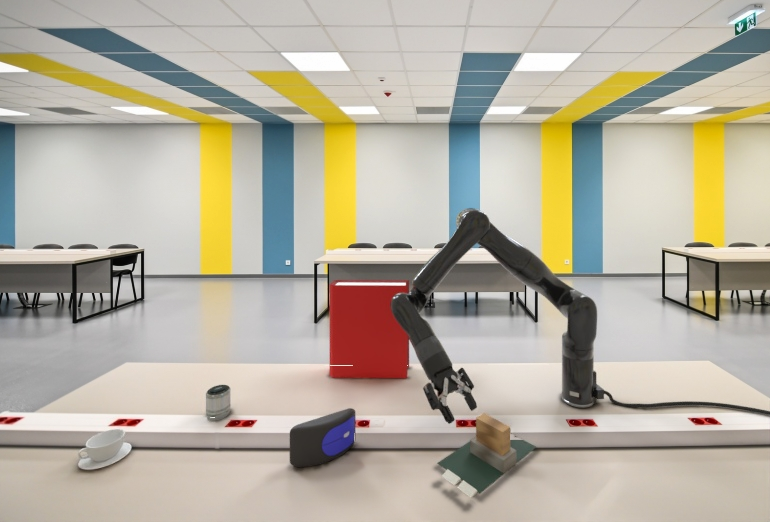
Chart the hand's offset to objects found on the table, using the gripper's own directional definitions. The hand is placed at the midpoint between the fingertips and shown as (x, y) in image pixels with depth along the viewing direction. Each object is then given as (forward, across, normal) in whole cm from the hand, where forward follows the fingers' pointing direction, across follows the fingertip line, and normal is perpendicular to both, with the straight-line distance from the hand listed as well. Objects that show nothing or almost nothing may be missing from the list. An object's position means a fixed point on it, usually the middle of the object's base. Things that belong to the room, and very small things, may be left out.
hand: (463, 415), depth 102 cm
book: (-30, +6, +41) cm, 51 cm away
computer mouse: (-10, -28, +20) cm, 36 cm away
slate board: (+11, 0, 0) cm, 11 cm away
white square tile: (+10, -13, 0) cm, 16 cm away
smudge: (+13, -13, -4) cm, 19 cm away
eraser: (+11, 0, -2) cm, 11 cm away
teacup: (-35, -66, +46) cm, 88 cm away
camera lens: (-36, -41, +47) cm, 72 cm away
